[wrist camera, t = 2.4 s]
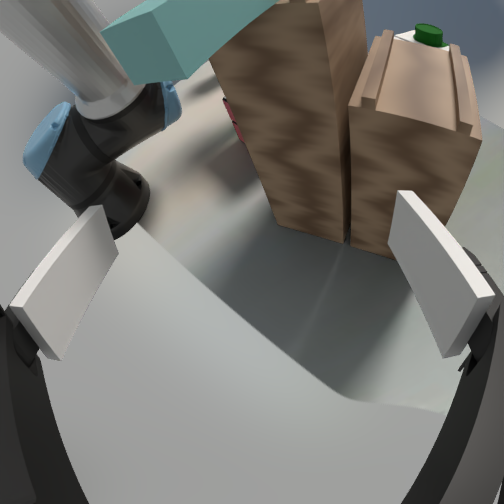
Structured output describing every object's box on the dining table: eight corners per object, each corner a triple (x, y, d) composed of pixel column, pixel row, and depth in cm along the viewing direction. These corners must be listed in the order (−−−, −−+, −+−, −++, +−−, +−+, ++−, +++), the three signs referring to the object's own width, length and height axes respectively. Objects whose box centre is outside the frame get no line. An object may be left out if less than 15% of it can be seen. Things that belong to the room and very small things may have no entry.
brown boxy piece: (277, 224, 42) (184, 6, 15) (311, 154, 46) (263, -35, 19) (421, 268, 33) (510, 26, 7) (436, 185, 37) (471, -19, 11)
